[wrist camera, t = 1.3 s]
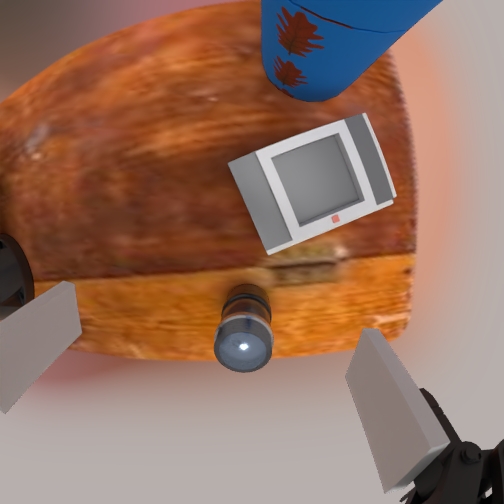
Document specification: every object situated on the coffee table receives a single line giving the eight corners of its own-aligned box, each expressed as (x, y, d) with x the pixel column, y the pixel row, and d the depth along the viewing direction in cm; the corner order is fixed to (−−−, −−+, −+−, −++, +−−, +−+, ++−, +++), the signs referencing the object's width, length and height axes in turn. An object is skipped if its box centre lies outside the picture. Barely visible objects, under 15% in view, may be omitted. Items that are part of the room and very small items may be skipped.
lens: (236, 329, 34) (228, 380, 24) (217, 292, 33) (200, 336, 23) (277, 314, 33) (283, 364, 23) (260, 275, 32) (259, 316, 22)
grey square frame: (267, 244, 31) (269, 261, 24) (233, 166, 29) (225, 162, 22) (380, 198, 29) (408, 203, 23) (351, 121, 27) (373, 108, 20)
